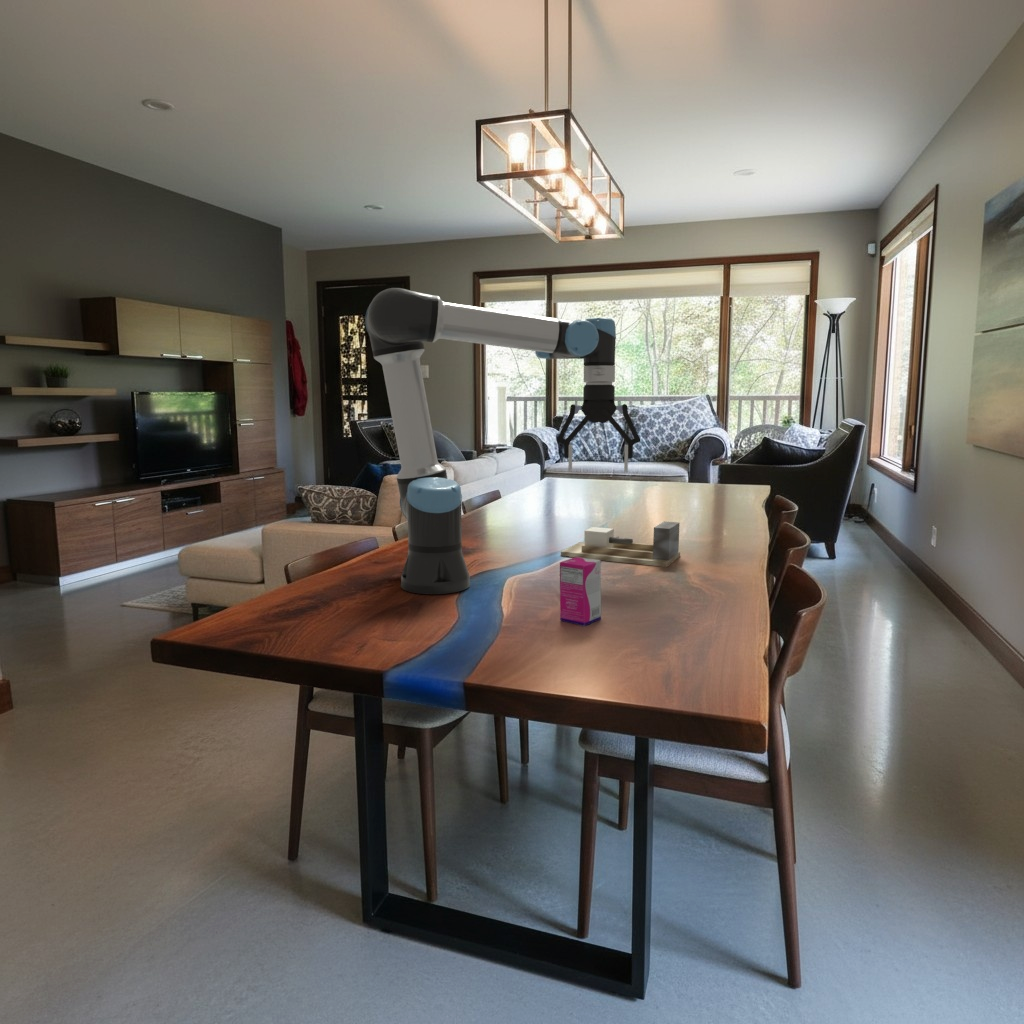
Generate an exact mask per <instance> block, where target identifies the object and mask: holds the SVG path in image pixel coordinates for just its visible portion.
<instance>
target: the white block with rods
mask: <svg viewBox="0 0 1024 1024" xmlns="http://www.w3.org/2000/svg"><path fill="white" fill-rule="evenodd" d="M614 531H615V530H614V528H607V527H595V526H592V527H589V528H587V529H586V530H584V538H583V539H584V541H583V542H584V545H586V546H597V547H607V548H613V543H615V544H625V545H632V544H633V543H634V539H633V538H627V537H625V538H624V537H621V538H620V536H614V534H615V532H614Z"/></svg>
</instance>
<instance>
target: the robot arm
mask: <svg viewBox="0 0 1024 1024" xmlns="http://www.w3.org/2000/svg"><path fill="white" fill-rule="evenodd" d="M364 320H365V321H364V323H365V328H366V332H367V333H368V336H369V341H370V345H371V350H372V355H373V356H372V357H373V359H374V360H375V361H377V362H378V363H380V364H381V366H382V371H383V376H384V377H383V378H384V382H385V388H386V393H387V398H388V403H389V410H390V414H391V419H392V423H393V424H392V425H393V430H394V434H395V441H396V446H397V451H398V456H399V462H400V467H401V468H400V470H399V471H398V473H397V475H396V481H397V486H398V492H399V507H400V510H401V513H402V514H403V516H404V517H405V519H406V520H407V534H408V535H407V542H408V554H407V557H406V560H405V563H404V566H403V569H402V572H401V573H402V574H401V577H400V588H401V589H402V590H404V591H406V592H409V593H412V594H413V593H414V594H419V595H444V594H445V595H446V594H453V593H454V594H455V593H459V592H462V591H464V590H466V589H468V588H469V587H470V586H471V577H470V576H471V575H470V572H469V569H468V566H467V563H466V561H465V557H464V554H463V552H462V551H463V550H462V547H463V546H462V544H463V543H462V541H463V540H462V538H463V537H462V501H463V494H462V489H461V485H460V484H459V483H458V482H457V481H455V480H454V479H448V473H447V469H446V467H445V466H444V465H442V464H441V463H440V462H439V461H438V456H437V450H436V445H435V444H436V443H435V439H434V438H435V437H434V432H433V426H432V422H431V416H430V411H429V404H428V399H427V393H426V388H425V382H424V376H423V372H422V370H423V369H422V367H421V361H420V359H421V357H422V355H423V354H424V352H425V345H424V342H427V343H433V344H434V343H435V342H437V341H439V339H440V340H441V339H442V340H448V341H449V340H450V341H457V342H462V343H465V342H466V343H471V344H480V345H487V346H495V347H501V348H510V349H517V350H524V351H525V350H526V351H533V352H535V355H536V357H538V359H546V360H550V361H551V360H553V359H554V360H569V359H570V360H573V359H577V360H581V359H583V383H585V385H584V386H583V391H582V393H583V395H582V396H583V401H582V405H580V404H579V405H578V404H574V403H573V404H570V406H569V407H570V408H569V414H568V415H567V418H566V420H565V422H564V424H563V426H562V427H561V430H560V431H559V434H558V436H557V438H556V442H557V443H560V444H561V445H563V456H564V458H565V459H568V473H572V471H573V444H571V441H573V440H574V438H575V437H576V436H577V435H578V433H580V431H581V430H582V429H583V427H585V425H586V424H587V423H588V422H590V423H592V424H596V423H600V424H605V423H608V422H609V423H610V424H611V425H612V426H613V428H614V429H615V430H616V431H617V432H618V434H619V435H620V436H621V437H622V438H623V440H624V441H625V442H626V443H627V444H624V457H623V458H624V461H623V462H624V463H623V467H624V468H623V472H624V473H629V472H628V469H629V468H628V467H629V461H628V460H629V459H633V456H634V455H633V452H634V451H633V449H634V445H635V444H638V443H641V437H640V435H639V434H638V431H637V429H636V427H635V425H634V423H633V421H632V419H631V417H630V415H629V410H628V405H627V404H626V403H623V404H618V405H616V403H615V394H616V393H615V392H616V391H615V389H616V387H615V385H614V384H613V383H615V382H616V366H615V365H616V340H617V336H616V335H617V333H616V331H617V330H616V329H617V327H616V322H615V320H614V319H612V318H611V317H589V318H585V319H577V320H569V319H561V318H557V317H549V316H542V315H535V314H527V313H522V312H515V311H508V310H502V309H495V308H489V307H488V308H486V307H481V306H475V305H474V306H473V305H467V304H459V303H454V302H453V303H452V302H446V301H443V300H442V299H441V297H440V296H439V295H434V294H429V293H424V292H417V291H415V290H414V291H413V290H409V289H406V288H401V287H391V288H390V287H389V288H386V289H384V290H382V291H380V292H378V293H377V294H376V295H375V296H374V297H373V299H372V301H371V302H370V303H369V306H368V307H367V309H366V313H365V318H364ZM579 411H581V412H582V414H583V415H584V416H585V417H584V418H583V419H582V420H581V421H580V422H579V423H578V425H576V426H575V428H574V429H573V431H571V433H569V435H568V436H567V437H566V438H564V437H565V436H566V433H567V431H568V429H569V427H570V425H571V423H572V421H573V419H574V417H575V415H576V414H579ZM616 411H618V412H619V414H622V415H623V417H624V420H625V422H626V424H627V426H628V428H629V430H630V432H631V435H632V436H633V438H631V437H630V436H629V435H628V434H627V432H626V431H625V430H624V429H623V428H622V426H620V424H619V422H617V421H616V419H615V418H614V417H613V415H614V414H615V413H616Z"/></svg>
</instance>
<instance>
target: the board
mask: <svg viewBox="0 0 1024 1024" xmlns="http://www.w3.org/2000/svg"><path fill="white" fill-rule="evenodd" d="M679 542H680V522H675V521H674V522H673V521H662V522H660V523H659V524H657V525H655V526H654V527H653V542H652V544H651V543H642V542H641V543H639V542H633V544H632V545H625V544H615V543H613V548H607V547H597V546H586V545H584V541H583V542H582V541H580V542H578V543H575V544H574V545H572V546H569V547H567V548H566V549H563V550H561V551H560V557H566V556H569V557H568V558H575V557H580V558H587V559H595V560H600V561H605V562H614V563H626V564H633V565H635V564H636V565H645V566H651V567H652V566H654V567H662V568H664V567H665V568H667V567H668V566H670V565H671V564H672V563H673V562H675V561H676V560H677V559H678V558H680V557H681V551H680V550H679V548H680V546H679V544H680V543H679Z"/></svg>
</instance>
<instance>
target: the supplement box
mask: <svg viewBox="0 0 1024 1024" xmlns="http://www.w3.org/2000/svg"><path fill="white" fill-rule="evenodd" d="M601 562H602V560H595V559H587V558H580V557H571V558H570V559H566V560H564V561H560V562H559V601H560V602H559V604H560V605H559V610H560V611H559V612H560V613H559V614H560V619H559V620H560V621H562V622H566V623H570V624H573V625H574V624H575V625H578V626H582V627H585V626H588V625H590V624H592V623H595V622H598V621H600V620H601V619H602V604H601V603H602V588H601V587H602V583H601V582H602V581H601V580H602V578H601V574H602V572H601V571H602V568H601V565H602V563H601Z"/></svg>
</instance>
